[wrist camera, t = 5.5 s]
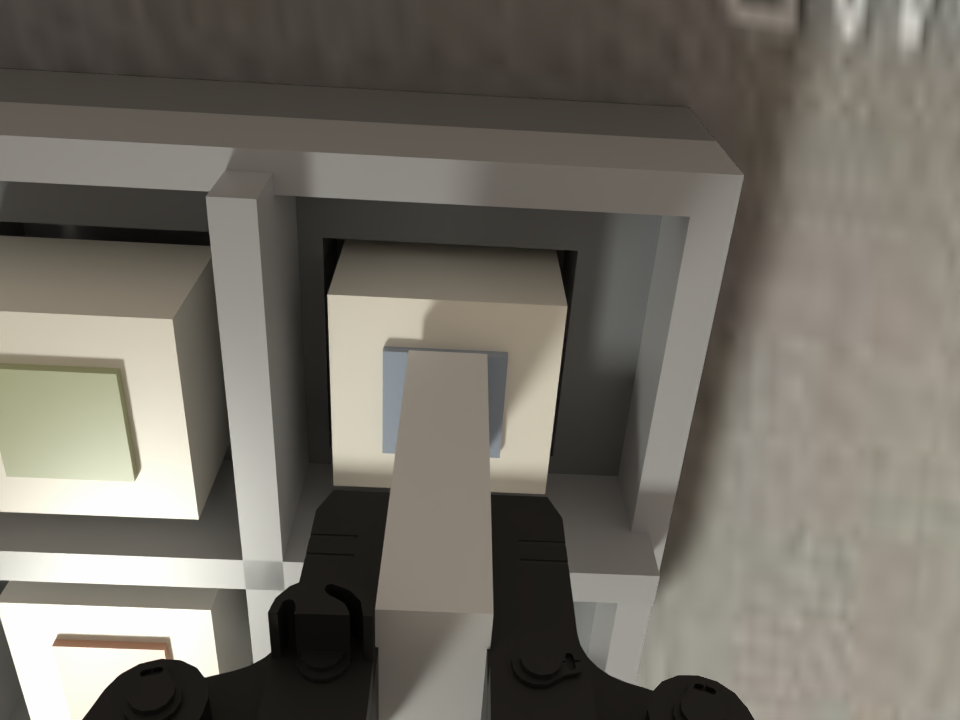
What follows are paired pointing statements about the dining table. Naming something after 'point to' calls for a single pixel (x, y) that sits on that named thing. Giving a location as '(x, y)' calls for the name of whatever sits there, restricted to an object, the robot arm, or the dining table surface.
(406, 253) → the key
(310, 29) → the dining table surface
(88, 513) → the key
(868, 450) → the dining table surface
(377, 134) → the keypad
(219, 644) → the key
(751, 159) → the dining table surface
